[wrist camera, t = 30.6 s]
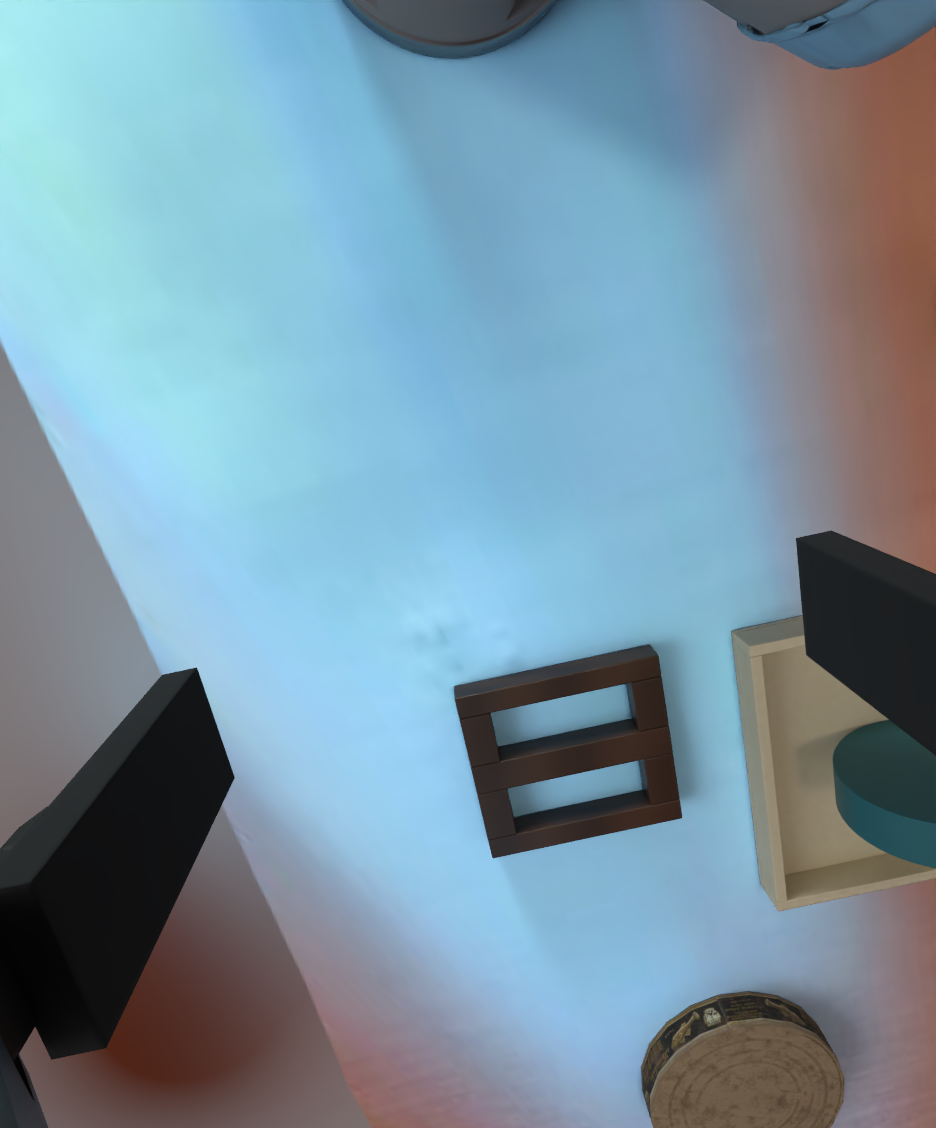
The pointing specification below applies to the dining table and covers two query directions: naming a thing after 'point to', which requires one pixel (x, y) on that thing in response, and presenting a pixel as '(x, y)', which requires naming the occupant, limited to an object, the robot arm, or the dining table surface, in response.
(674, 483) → the dining table surface
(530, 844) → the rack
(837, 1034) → the dining table surface
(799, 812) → the tray
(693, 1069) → the wood log slice
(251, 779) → the dining table surface
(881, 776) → the disc
